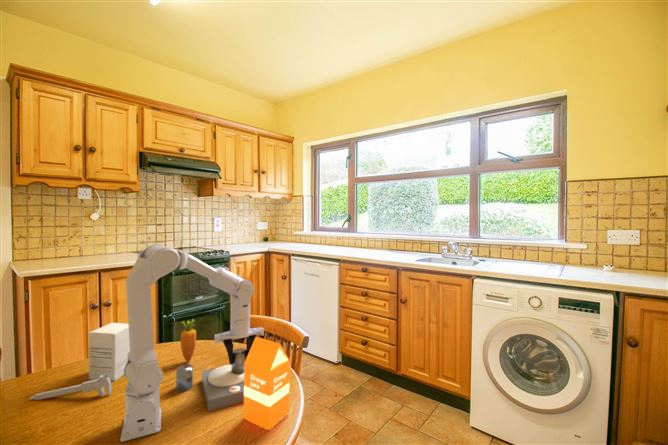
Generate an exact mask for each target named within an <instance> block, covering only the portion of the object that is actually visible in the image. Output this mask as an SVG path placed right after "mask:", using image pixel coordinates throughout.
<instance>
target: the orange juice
mask: <svg viewBox="0 0 668 445" xmlns="http://www.w3.org/2000/svg"><path fill="white" fill-rule="evenodd" d="M290 361H291V359H289V357H288V355H287V354H286V352H285V350H284V348H283V347H282V345H281V343H279V342H275V341H272V340H269V339H265V338H262V337H259V336H257V337H255V340H254V342H253V344H252V347H251V349H250V351H249V354H248V356H247V358H246V361H245V369H244V402H243V419H244V420H245V419H246V421H247V420H248V422H249V421H250V423H251V422H252V423H251V424H253V423H254V425H255V424H256V426H257V425H259V426H261V427H264V428H267V429H270V428H271V427H272V426H273V425H275V424H276V423H277V422H278V421H279V420H280V419H281V418H282V417H284V416H285V415H286V414H287V413H288V412H289V407H290V406H289V405H290V369H291V368H290V366H291V362H290ZM259 426H258V427H259ZM261 427H260V428H261Z"/></svg>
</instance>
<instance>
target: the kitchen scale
mask: <svg viewBox="0 0 668 445" xmlns="http://www.w3.org/2000/svg"><path fill="white" fill-rule="evenodd" d="M201 383H202V387H203V393H204V398H205V401H206V407H207V410H208V412H211V411H215V410H219V409H222V408H226V407H230V406H233V405H237V404H241V402H242V403H244V373H242V374H233V373H232V372H231V365H230V364H225V365H221V366H218V367H217V368H211V369H206V370H202V371H201Z"/></svg>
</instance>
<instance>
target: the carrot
mask: <svg viewBox="0 0 668 445" xmlns="http://www.w3.org/2000/svg"><path fill="white" fill-rule="evenodd" d="M194 323H195V319H193V318H192V319H191V321H190V320H187V321H186V322H185V321H184V320H183V321H181V324H182V325H183V327H184V330H182V332H181V334H180V348H181V353H182V356H183V358H184V360H185V361H186V362H187V363H190V362H191V359H192V357H193V355H194V352H195V349H196V342H197V330H196V329H193V327H195V324H194Z"/></svg>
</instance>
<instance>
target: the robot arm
mask: <svg viewBox="0 0 668 445" xmlns="http://www.w3.org/2000/svg"><path fill="white" fill-rule="evenodd" d="M137 255H138V256H137V258H136V261H135V263H134V264H133V266H132V267H131V269H130V271H129V273H128V275H127V277H126V278H125V289H126V290H125V291H126V292H125V293H126V304H127V305H126V307H127V324H128V326H129V343H130V352H129V353H128V355H127V357H128V358H127V363H126V365H125V368H124V375H123V376H124V378H126V379H127V380H128V383H127V384H126V388H125V393H124V394H125V395H124V396H125V402H124V405H125V406H124V408H125V409H124V413H125V415H124V418H123V424H122V425H123V426H122V430H121V436H120V438H119V439H120V442H121V443H122V442H126V441H130V440H134V439H137V438H142V437H145V436H148V435H149V436H150V435H152V434H156V433H160V432H161V429H162V408H161V407H160V391H161V390H160V387H161V384H162V382H163V377H164V374H163V370H162V369H161V367H160V365H159V361H158V360H159V359H158V357H157V353H156V350H155V343H154V342H155V340H154V339H155V338H154V322H153V306H152V305H153V304H152V303H153V301H152V286H153V285H154V284H155V283H156V282H157V281H158V280H159V279H160V278H162V277H164V276H166V275H168V274H170V273H171V272H173V271H176V270H180V271H182V270H185V269H188V270H189V271H192V272H193V273H195V274H198V275H200V276H202V277H205V278H207V279H208V282H209V285H210V286H212V287H215V288H217V289H219V290H220V291H223V292H225V293H227V294H229V296H230V326H229V327H230V330H228V331H224V332H222V333H218V334H217V333H216V334H214V342H215V344H218V343H221V342H223V345H224V347H225V350H226V353H227V357H228V363H229V365H232V364H233V350H234V343H233V341H234V340H238V339H244V338H245V340H246V348H245V349H246V350H247V356H248V354H249V351H250V349H251V347H252V344H253V342H254V340H255V337H258V336H265V328H263V327H262V326H261V327H251V302H252V296H254V293H255V288H254V285H253V283H252V282H251V281H250V280H247V279H245V278H242V275H241V274H236V273H234V272H232V271H230V268H228V267H227V266H224V267H222V266H217V267H216V268H214V267H213V266H211V265H208V263H205V262H203V261H202V260H201V259H198V258H197V257H195V256H194V255H192V254H190V253H188V252H185V251H181V250H177V249H175V248H173V247H171V246H170V247H169V246H164V245H161V244H151V245H149V246H147V247H146V248H145V249H144V250H142V251H141V252H140V253H138V254H137Z"/></svg>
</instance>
